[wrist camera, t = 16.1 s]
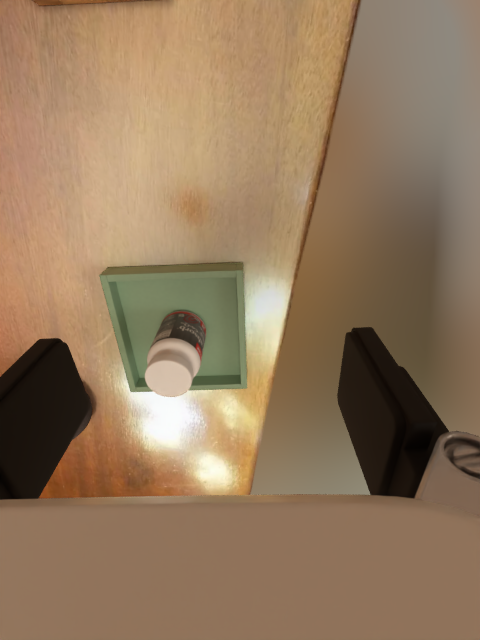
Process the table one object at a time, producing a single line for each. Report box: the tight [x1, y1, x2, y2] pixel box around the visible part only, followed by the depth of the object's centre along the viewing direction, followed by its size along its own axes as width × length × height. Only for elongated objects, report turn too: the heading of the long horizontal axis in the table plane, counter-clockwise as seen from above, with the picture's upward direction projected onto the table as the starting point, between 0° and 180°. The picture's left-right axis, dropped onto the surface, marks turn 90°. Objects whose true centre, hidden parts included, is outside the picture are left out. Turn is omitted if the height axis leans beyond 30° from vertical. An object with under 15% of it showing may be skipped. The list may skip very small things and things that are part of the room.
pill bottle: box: [145, 311, 206, 397], centre depth 35 cm, size 6×6×10 cm
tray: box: [99, 263, 247, 392], centre depth 39 cm, size 16×17×3 cm
